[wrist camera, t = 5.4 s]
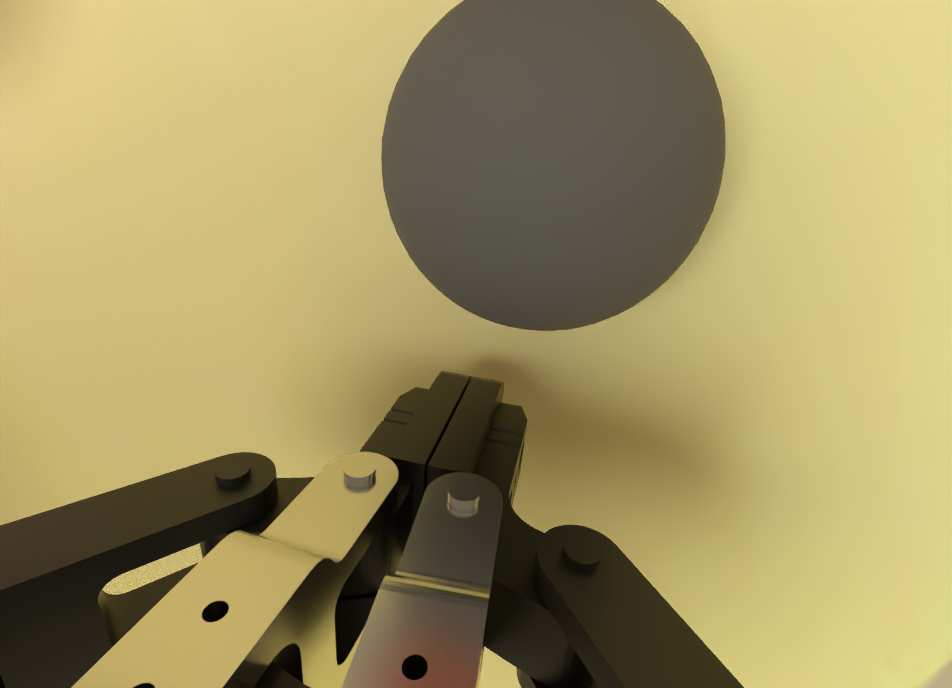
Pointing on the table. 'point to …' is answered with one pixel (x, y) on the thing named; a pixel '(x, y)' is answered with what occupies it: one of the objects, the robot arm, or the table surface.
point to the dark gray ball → (553, 156)
